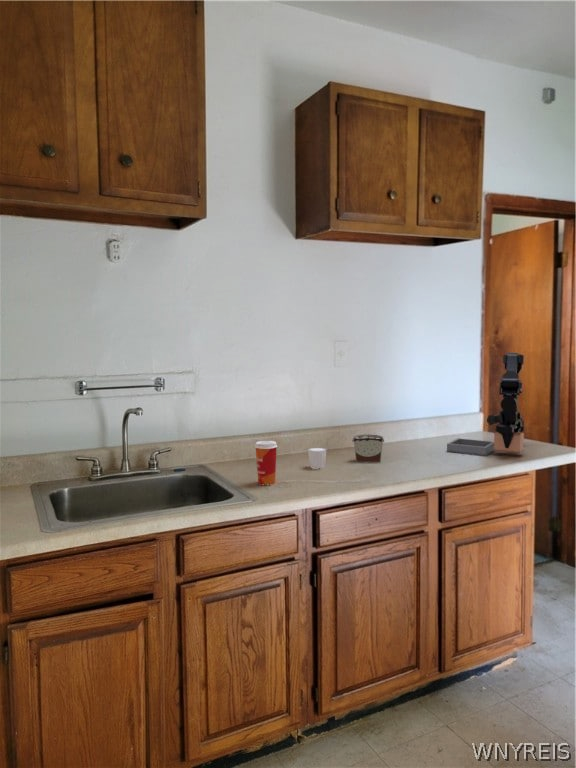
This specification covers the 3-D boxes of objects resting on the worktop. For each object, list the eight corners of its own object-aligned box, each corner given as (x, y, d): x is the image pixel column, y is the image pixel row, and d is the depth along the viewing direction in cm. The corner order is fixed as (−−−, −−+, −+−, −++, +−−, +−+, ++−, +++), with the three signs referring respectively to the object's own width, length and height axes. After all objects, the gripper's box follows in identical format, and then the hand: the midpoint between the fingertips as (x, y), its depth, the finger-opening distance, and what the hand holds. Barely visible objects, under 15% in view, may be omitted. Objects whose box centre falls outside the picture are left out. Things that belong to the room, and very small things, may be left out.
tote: (497, 447, 237) (498, 431, 236) (523, 450, 231) (524, 433, 231) (494, 450, 232) (494, 433, 231) (520, 453, 226) (520, 435, 226)
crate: (457, 446, 251) (457, 438, 250) (495, 450, 242) (495, 441, 241) (446, 452, 239) (447, 443, 239) (486, 456, 230) (486, 447, 230)
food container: (383, 459, 228) (383, 434, 227) (384, 462, 222) (384, 437, 221) (352, 458, 229) (351, 434, 228) (352, 462, 223) (352, 436, 222)
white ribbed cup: (328, 466, 217) (328, 448, 216) (323, 470, 211) (323, 451, 210) (311, 465, 219) (311, 447, 219) (306, 469, 213) (305, 450, 212)
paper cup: (255, 480, 197) (254, 440, 196) (277, 480, 198) (276, 440, 197) (255, 487, 189) (254, 445, 188) (278, 486, 190) (278, 444, 189)
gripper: (495, 404, 242) (494, 441, 244) (482, 409, 227) (481, 448, 228) (523, 406, 236) (522, 443, 238) (512, 411, 221) (511, 451, 222)
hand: (508, 446), depth 232 cm, fingers closed on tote, 6 cm apart
